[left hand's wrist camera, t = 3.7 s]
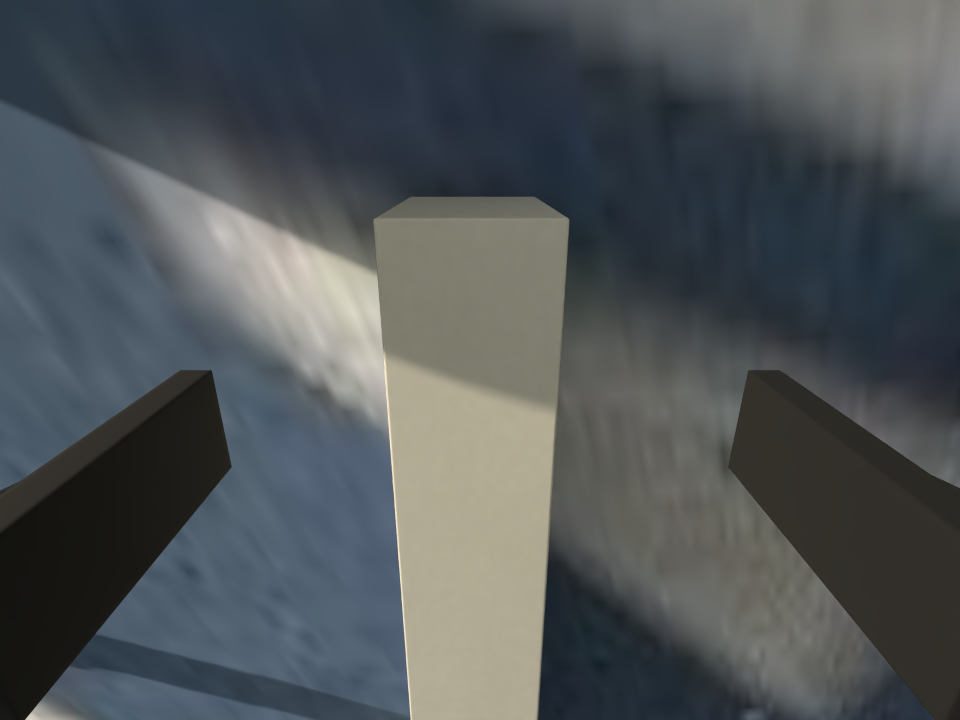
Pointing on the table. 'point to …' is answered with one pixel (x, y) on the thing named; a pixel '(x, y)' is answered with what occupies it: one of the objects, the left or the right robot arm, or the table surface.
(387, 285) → the beige long bar
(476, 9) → the table surface
